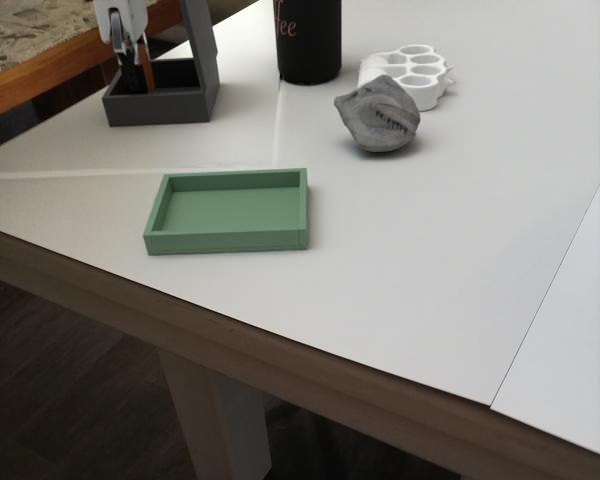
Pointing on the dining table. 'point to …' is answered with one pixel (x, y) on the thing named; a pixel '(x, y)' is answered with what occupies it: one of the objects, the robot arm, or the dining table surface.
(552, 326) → the dining table surface
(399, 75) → the white multi-well holder
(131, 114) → the black box
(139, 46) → the orange cylinder
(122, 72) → the robot arm
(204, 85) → the lid
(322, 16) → the coffee jar
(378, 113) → the fossil
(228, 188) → the tray
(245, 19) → the dining table surface
